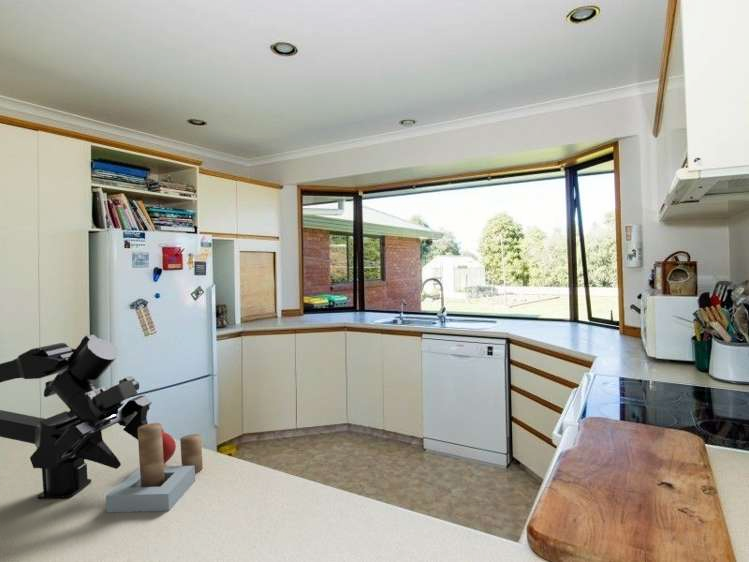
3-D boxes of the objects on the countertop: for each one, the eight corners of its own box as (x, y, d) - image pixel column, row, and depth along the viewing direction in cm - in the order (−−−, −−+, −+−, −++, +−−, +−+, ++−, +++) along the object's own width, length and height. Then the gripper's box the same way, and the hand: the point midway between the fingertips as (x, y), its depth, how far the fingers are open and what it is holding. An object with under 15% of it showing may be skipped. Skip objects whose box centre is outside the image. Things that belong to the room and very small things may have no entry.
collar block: (106, 512, 79) (105, 495, 79) (140, 482, 90) (139, 467, 90) (169, 510, 79) (168, 493, 78) (195, 480, 90) (194, 465, 89)
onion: (164, 472, 94) (162, 434, 94) (140, 470, 95) (138, 433, 95) (181, 460, 99) (179, 424, 99) (158, 458, 101) (156, 423, 100)
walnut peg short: (178, 475, 92) (176, 441, 92) (187, 466, 96) (185, 434, 96) (198, 474, 92) (196, 441, 92) (205, 466, 96) (203, 433, 96)
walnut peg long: (137, 501, 82) (133, 431, 82) (148, 490, 86) (144, 423, 86) (159, 500, 82) (154, 430, 82) (169, 489, 86) (165, 422, 86)
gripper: (65, 379, 76) (126, 447, 74) (141, 356, 94) (191, 410, 92) (28, 424, 77) (87, 491, 76) (109, 393, 96) (159, 446, 94)
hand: (136, 455), depth 84 cm, fingers open, 9 cm apart
